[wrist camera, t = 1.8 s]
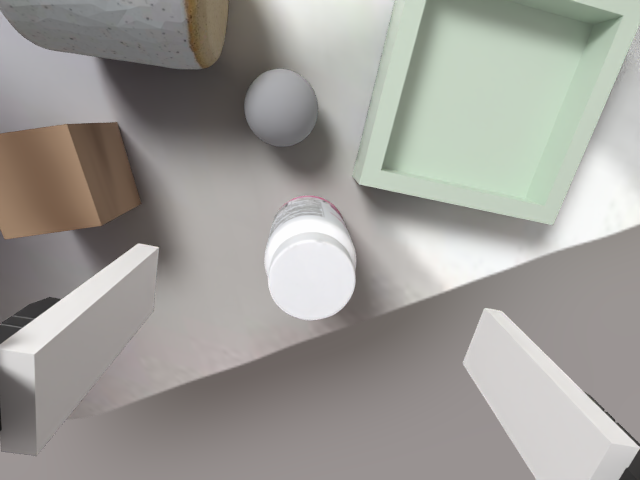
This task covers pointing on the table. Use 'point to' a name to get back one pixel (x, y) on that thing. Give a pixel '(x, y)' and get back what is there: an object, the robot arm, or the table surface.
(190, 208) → the table surface
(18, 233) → the walnut block
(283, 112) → the rubber ball
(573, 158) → the tray
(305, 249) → the pill bottle
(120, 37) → the ceramic mug
